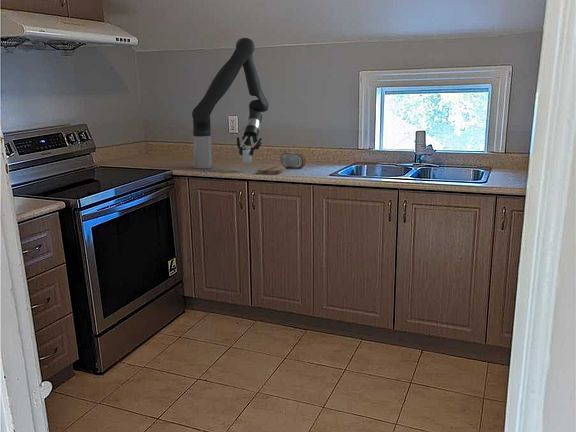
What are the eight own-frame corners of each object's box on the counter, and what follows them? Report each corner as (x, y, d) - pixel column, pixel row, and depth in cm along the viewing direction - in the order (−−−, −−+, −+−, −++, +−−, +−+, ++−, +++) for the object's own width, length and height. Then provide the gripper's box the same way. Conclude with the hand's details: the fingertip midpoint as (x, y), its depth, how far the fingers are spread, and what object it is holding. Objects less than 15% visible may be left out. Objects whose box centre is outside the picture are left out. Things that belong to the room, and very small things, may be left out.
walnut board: (257, 173, 272) (257, 169, 271) (265, 169, 285) (265, 165, 285) (278, 174, 269) (278, 170, 269) (285, 170, 282) (285, 166, 282)
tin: (305, 168, 289) (305, 152, 287) (302, 169, 286) (302, 153, 284) (282, 166, 297) (282, 151, 295) (279, 167, 294) (279, 151, 292)
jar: (241, 163, 278) (240, 147, 276) (243, 162, 282) (243, 146, 280) (249, 163, 277) (249, 148, 275) (252, 162, 281) (252, 147, 279)
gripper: (238, 124, 283) (230, 149, 275) (264, 124, 280) (257, 150, 272) (241, 133, 290) (234, 158, 281) (266, 134, 286) (260, 159, 278)
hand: (245, 154), depth 276 cm, fingers closed on jar, 4 cm apart
